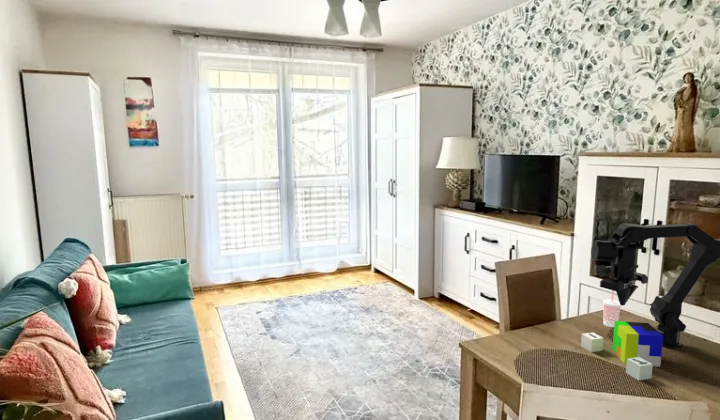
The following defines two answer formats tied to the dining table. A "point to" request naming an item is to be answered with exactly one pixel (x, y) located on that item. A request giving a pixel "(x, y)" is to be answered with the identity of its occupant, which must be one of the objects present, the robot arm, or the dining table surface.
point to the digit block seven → (639, 368)
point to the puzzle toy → (637, 342)
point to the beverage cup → (611, 311)
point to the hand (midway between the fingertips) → (622, 305)
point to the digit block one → (592, 342)
